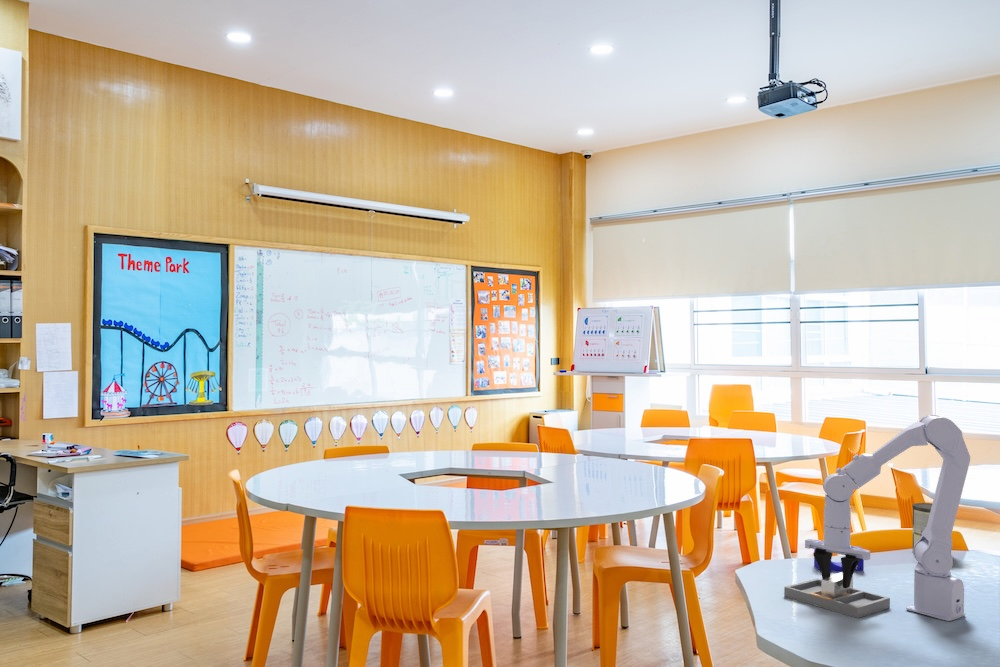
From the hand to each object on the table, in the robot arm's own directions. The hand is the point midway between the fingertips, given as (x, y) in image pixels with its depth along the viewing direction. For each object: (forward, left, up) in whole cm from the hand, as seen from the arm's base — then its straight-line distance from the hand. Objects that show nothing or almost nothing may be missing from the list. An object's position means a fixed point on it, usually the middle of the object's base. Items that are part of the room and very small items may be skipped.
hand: (836, 584), depth 184 cm
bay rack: (0, 0, -4) cm, 4 cm away
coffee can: (+11, -69, -4) cm, 70 cm away
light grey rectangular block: (0, 0, -3) cm, 3 cm away
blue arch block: (+16, -28, -4) cm, 33 cm away
